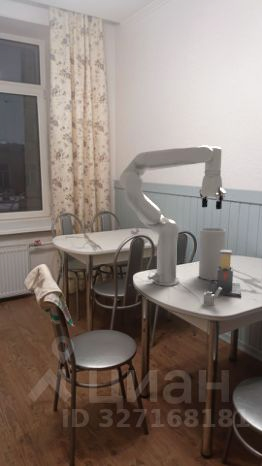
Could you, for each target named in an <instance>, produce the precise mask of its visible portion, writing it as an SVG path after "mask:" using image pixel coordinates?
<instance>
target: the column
mask: <svg viewBox="0 0 262 466" xmlns="http://www.w3.org/2000/svg"><path fill="white" fill-rule="evenodd" d="M232 252H233V251H232V249H225V250H221V253H220V254H221V270H223V268H225V269H228V270H230V267H231V258H232V257H231V255H232V254H233V253H232Z"/></svg>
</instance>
